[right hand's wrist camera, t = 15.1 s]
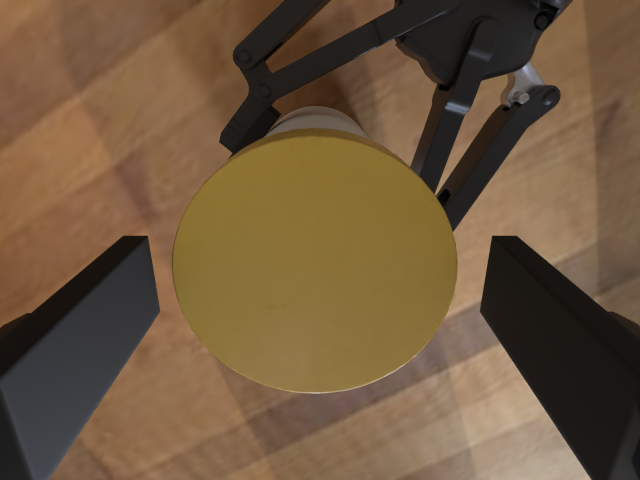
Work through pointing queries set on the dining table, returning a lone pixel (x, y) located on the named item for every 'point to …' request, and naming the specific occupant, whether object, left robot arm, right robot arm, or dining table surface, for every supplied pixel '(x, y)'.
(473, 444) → the dining table surface
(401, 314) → the lid
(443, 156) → the left robot arm
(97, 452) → the dining table surface
